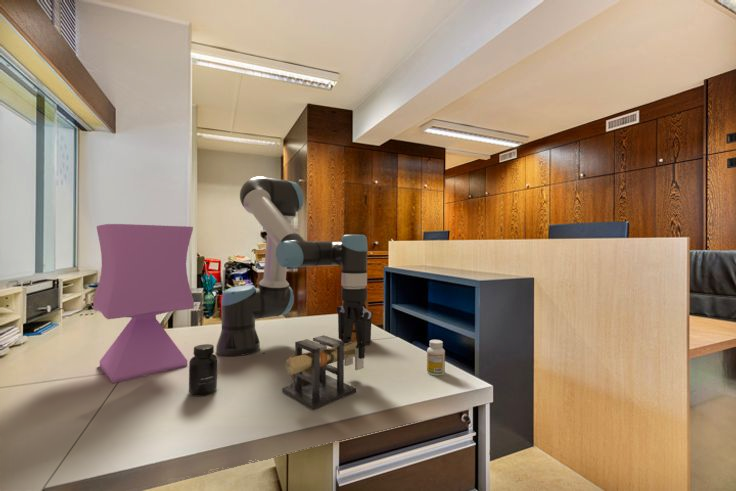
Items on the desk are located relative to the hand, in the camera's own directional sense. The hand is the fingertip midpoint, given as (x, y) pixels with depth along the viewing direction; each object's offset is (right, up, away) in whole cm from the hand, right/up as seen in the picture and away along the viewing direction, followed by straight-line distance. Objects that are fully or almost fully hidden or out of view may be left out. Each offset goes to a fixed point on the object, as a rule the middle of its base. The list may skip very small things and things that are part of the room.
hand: (353, 366), depth 99 cm
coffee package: (-1, -4, +38) cm, 39 cm away
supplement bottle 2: (+25, -4, +5) cm, 26 cm away
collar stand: (-9, -4, -9) cm, 13 cm away
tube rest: (-14, -4, +2) cm, 14 cm away
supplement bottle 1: (-40, -4, -9) cm, 41 cm away
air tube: (-7, +5, -7) cm, 11 cm away
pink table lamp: (-68, -3, +10) cm, 69 cm away
